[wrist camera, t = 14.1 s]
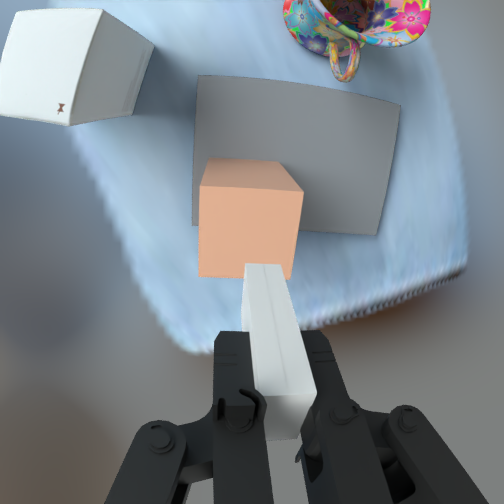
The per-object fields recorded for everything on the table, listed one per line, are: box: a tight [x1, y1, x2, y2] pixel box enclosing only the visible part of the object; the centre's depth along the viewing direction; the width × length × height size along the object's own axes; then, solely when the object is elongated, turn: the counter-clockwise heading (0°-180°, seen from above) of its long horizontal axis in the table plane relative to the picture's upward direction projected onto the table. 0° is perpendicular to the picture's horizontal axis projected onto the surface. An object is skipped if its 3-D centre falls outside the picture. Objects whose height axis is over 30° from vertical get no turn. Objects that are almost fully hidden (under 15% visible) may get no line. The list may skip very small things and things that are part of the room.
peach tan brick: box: [199, 158, 304, 280], centre depth 23 cm, size 6×6×10 cm
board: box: [192, 75, 401, 235], centre depth 27 cm, size 14×19×2 cm
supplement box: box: [0, 8, 154, 126], centre depth 17 cm, size 7×7×13 cm
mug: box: [283, 0, 431, 83], centre depth 17 cm, size 12×9×11 cm
